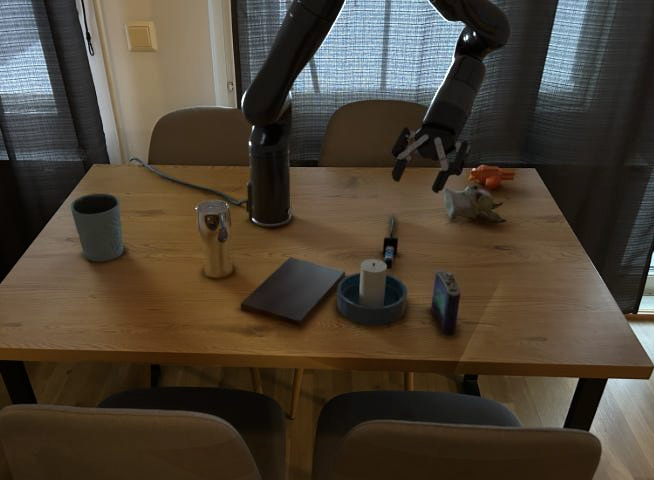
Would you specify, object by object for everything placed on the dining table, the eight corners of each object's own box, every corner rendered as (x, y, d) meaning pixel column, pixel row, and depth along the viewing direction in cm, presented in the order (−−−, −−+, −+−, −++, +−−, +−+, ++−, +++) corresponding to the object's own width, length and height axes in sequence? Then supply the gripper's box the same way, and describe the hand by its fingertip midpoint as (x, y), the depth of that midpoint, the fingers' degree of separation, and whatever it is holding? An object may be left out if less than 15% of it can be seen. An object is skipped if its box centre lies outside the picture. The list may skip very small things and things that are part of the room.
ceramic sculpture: (445, 173, 156) (508, 180, 155) (439, 205, 161) (499, 212, 160) (446, 191, 148) (512, 199, 146) (439, 225, 153) (503, 232, 151)
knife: (390, 279, 130) (393, 259, 128) (375, 278, 131) (377, 258, 129) (403, 226, 157) (405, 209, 155) (391, 225, 157) (392, 207, 155)
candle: (354, 308, 124) (356, 265, 118) (364, 296, 127) (367, 254, 122) (377, 315, 122) (381, 271, 117) (387, 302, 125) (390, 260, 120)
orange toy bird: (514, 161, 171) (468, 160, 171) (519, 180, 166) (472, 179, 166) (509, 175, 175) (465, 175, 175) (514, 194, 170) (468, 194, 170)
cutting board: (240, 309, 124) (240, 303, 123) (290, 262, 139) (290, 256, 138) (300, 327, 119) (300, 321, 118) (345, 277, 134) (345, 271, 133)
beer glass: (239, 265, 138) (235, 201, 130) (226, 281, 133) (220, 216, 124) (210, 260, 140) (204, 197, 131) (196, 276, 134) (188, 211, 126)
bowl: (325, 315, 123) (326, 297, 120) (353, 282, 132) (354, 265, 130) (390, 334, 117) (392, 316, 115) (414, 298, 127) (416, 281, 125)
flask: (428, 308, 124) (434, 261, 118) (443, 307, 124) (450, 259, 118) (443, 337, 117) (451, 288, 110) (459, 336, 117) (467, 286, 111)
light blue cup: (98, 238, 148) (88, 190, 142) (136, 245, 146) (128, 196, 139) (71, 259, 141) (60, 209, 134) (111, 267, 138) (101, 216, 131)
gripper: (411, 93, 123) (376, 168, 122) (480, 106, 116) (443, 186, 115) (422, 113, 130) (388, 185, 129) (488, 127, 122) (453, 203, 121)
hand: (414, 185), depth 122 cm, fingers open, 8 cm apart
